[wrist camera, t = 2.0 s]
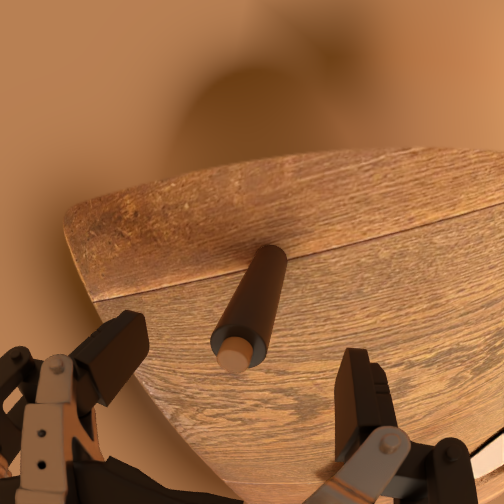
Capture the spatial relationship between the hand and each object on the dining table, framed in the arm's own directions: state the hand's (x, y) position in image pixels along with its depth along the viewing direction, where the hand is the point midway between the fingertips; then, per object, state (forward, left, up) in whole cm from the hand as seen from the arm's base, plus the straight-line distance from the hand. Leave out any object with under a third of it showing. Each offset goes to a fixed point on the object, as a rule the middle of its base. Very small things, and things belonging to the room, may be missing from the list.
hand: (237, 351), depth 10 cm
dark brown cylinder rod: (0, 0, -9) cm, 9 cm away
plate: (+32, +49, -9) cm, 59 cm away
